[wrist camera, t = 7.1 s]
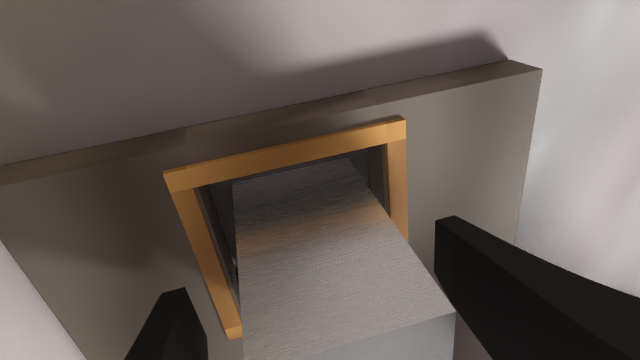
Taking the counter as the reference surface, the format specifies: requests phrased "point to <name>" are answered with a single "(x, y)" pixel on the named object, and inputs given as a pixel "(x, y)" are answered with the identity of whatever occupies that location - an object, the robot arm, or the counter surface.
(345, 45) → the counter surface
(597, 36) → the counter surface
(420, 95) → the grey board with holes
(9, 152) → the counter surface
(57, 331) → the counter surface
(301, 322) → the steel peg
